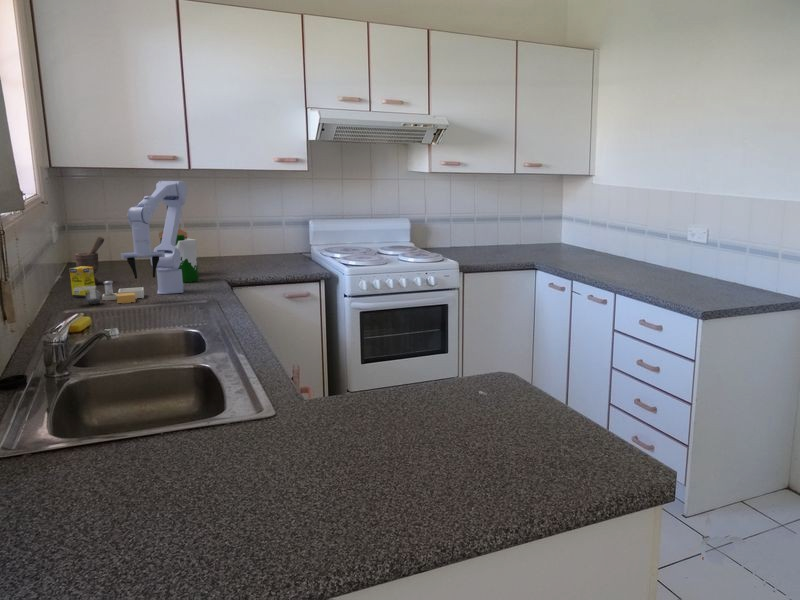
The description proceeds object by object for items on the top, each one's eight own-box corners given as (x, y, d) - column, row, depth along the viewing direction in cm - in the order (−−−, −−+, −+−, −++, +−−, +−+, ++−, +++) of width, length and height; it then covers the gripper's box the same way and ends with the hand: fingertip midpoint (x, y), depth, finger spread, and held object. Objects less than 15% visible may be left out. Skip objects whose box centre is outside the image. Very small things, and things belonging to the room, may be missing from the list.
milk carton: (172, 281, 263) (168, 234, 259) (192, 278, 269) (188, 233, 265) (182, 283, 257) (178, 236, 253) (202, 281, 263) (198, 234, 259)
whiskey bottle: (193, 276, 276) (187, 204, 270) (173, 279, 269) (167, 205, 262) (179, 273, 282) (173, 203, 276) (160, 276, 275) (153, 204, 268)
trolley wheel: (102, 301, 222) (101, 285, 221) (101, 304, 217) (99, 287, 216) (77, 303, 219) (75, 286, 218) (75, 306, 214) (73, 289, 213)
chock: (135, 300, 226) (134, 292, 225) (135, 302, 221) (134, 294, 221) (117, 301, 223) (116, 293, 223) (117, 304, 219) (116, 296, 218)
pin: (114, 297, 229) (113, 280, 228) (114, 299, 226) (112, 281, 225) (105, 298, 228) (103, 281, 227) (104, 300, 225) (102, 282, 224)
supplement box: (85, 297, 230) (82, 268, 228) (72, 297, 231) (68, 268, 229) (96, 294, 236) (93, 266, 233) (83, 293, 237) (79, 266, 235)
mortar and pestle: (109, 281, 264) (104, 235, 259) (108, 284, 256) (103, 237, 252) (79, 283, 259) (73, 236, 255) (77, 286, 251) (72, 238, 247)
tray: (144, 294, 234) (143, 287, 234) (143, 298, 228) (143, 290, 227) (119, 296, 231) (119, 288, 231) (118, 300, 225) (118, 292, 224)
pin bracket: (116, 297, 230) (116, 293, 230) (116, 299, 226) (115, 295, 225) (103, 298, 228) (103, 294, 228) (102, 300, 224) (102, 296, 224)
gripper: (119, 242, 214) (122, 280, 217) (163, 240, 219) (166, 278, 222) (120, 240, 221) (123, 277, 223) (163, 238, 226) (166, 275, 228)
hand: (145, 277), depth 223 cm, fingers open, 5 cm apart
